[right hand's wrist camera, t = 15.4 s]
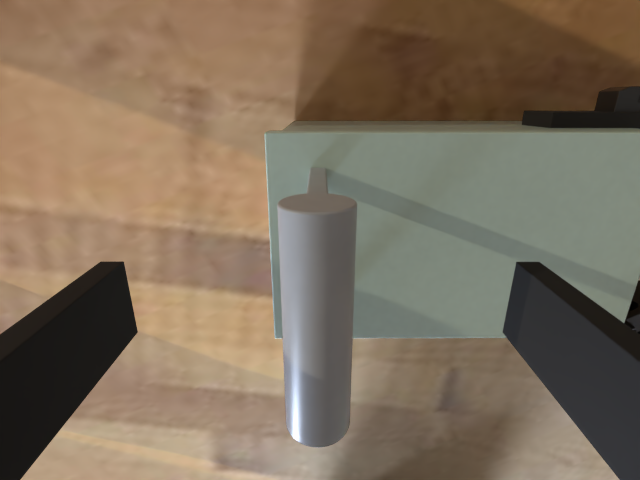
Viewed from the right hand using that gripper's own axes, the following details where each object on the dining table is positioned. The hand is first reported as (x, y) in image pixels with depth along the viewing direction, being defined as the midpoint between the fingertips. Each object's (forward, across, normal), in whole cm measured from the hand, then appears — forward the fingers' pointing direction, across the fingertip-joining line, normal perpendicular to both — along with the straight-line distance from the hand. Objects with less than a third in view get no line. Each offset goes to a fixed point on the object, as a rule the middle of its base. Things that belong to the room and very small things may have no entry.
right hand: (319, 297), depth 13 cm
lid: (+6, -6, 0) cm, 9 cm away
